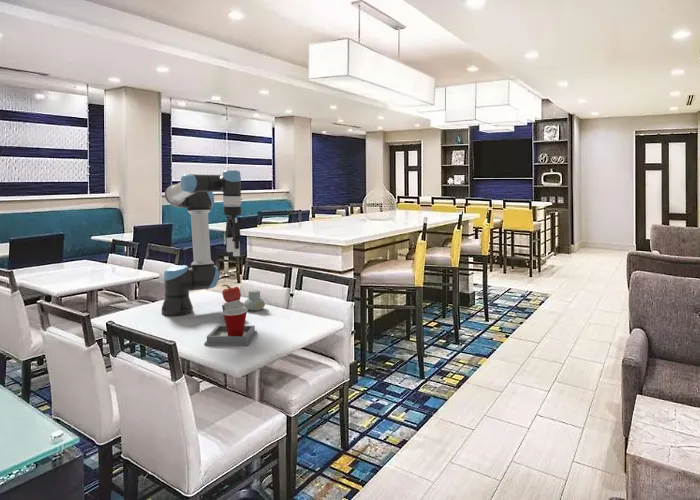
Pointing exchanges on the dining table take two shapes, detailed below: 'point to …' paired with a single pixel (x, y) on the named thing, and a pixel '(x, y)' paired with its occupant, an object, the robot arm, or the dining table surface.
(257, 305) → the air freshener
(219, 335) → the pocket tray
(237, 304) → the electrical switch
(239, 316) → the plastic cup
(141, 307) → the dining table surface
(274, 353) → the dining table surface
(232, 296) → the vegetable
